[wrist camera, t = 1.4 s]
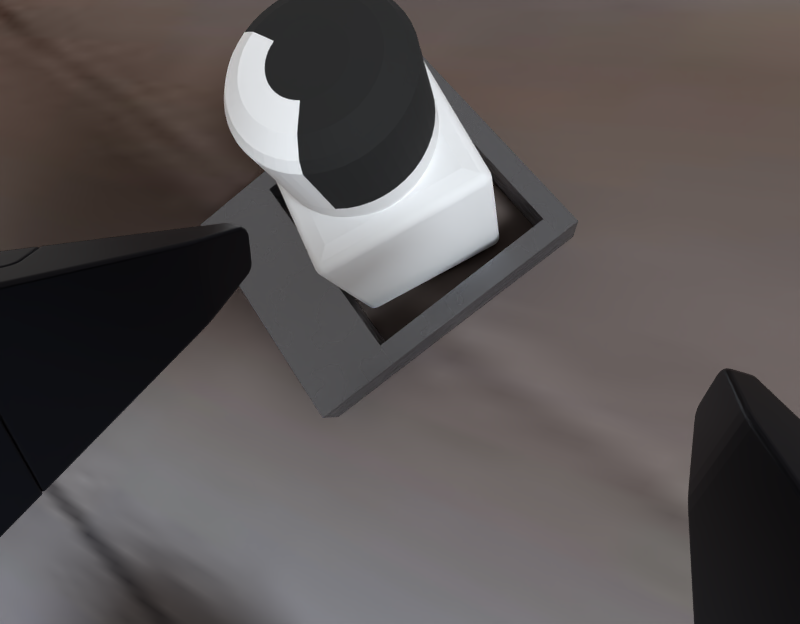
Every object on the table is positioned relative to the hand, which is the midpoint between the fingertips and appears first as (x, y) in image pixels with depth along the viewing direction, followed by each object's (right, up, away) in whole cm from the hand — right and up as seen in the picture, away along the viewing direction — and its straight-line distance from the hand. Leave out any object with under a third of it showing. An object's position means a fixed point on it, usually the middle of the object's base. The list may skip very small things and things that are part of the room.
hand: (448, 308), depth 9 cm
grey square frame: (-2, +4, +16) cm, 16 cm away
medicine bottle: (-1, +5, +16) cm, 17 cm away
